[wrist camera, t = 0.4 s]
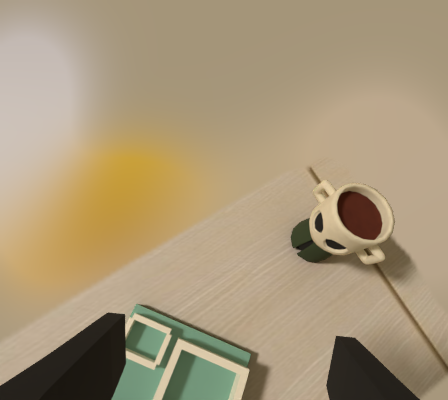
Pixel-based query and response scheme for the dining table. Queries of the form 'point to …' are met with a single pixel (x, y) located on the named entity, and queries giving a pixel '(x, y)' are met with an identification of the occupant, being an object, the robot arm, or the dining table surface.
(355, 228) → the character mug
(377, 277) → the dining table surface
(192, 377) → the board
